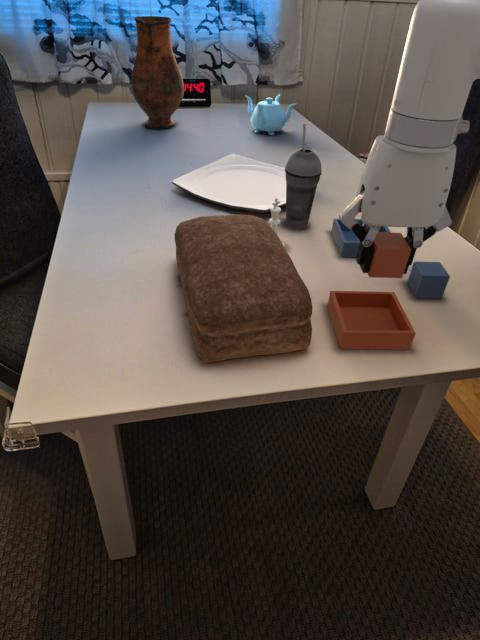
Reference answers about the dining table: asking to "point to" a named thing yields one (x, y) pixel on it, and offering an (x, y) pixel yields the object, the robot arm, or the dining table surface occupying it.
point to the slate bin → (348, 238)
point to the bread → (241, 288)
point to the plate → (237, 183)
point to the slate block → (428, 280)
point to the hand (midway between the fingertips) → (381, 267)
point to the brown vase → (156, 72)
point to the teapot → (268, 115)
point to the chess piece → (275, 216)
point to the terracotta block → (389, 255)
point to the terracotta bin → (369, 320)
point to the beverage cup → (301, 185)
